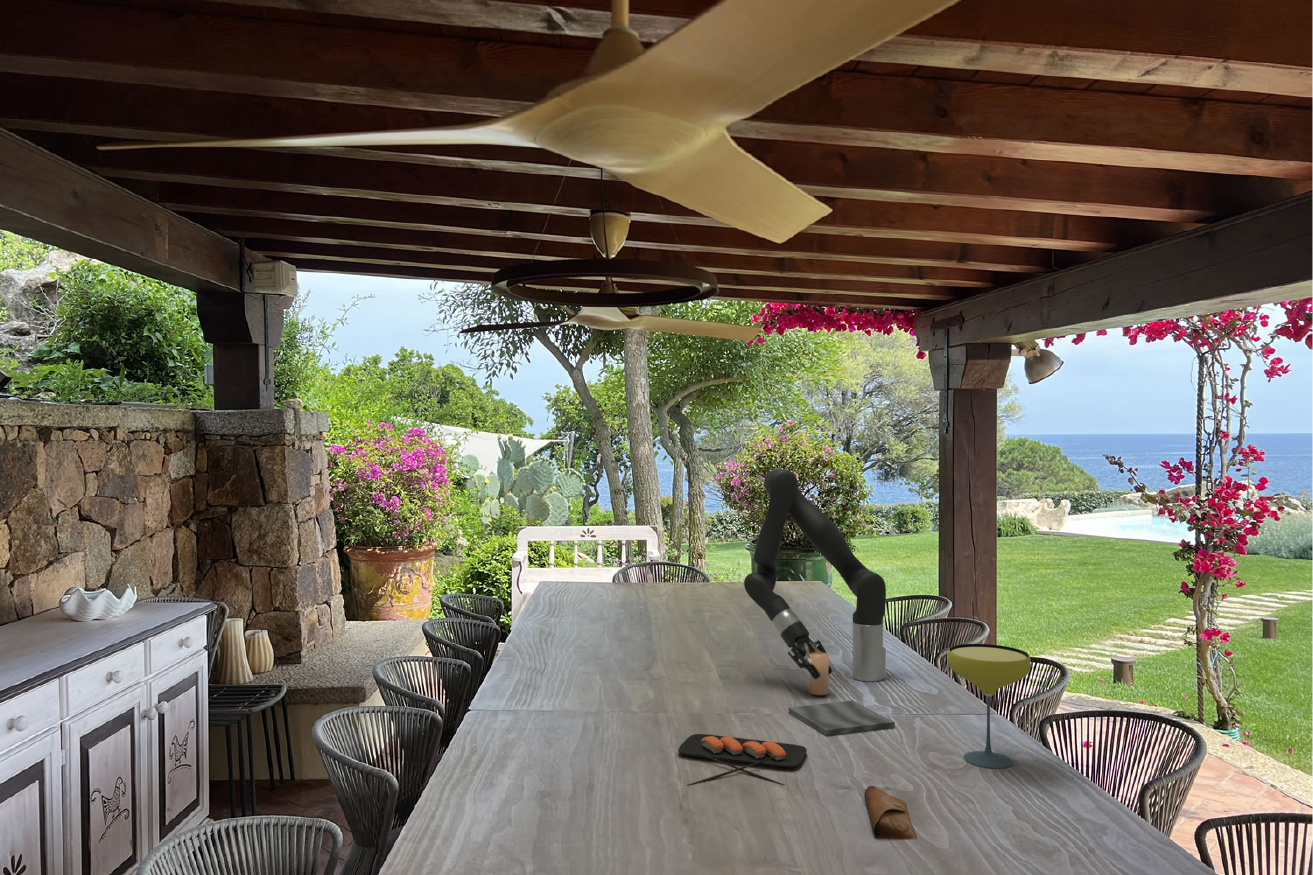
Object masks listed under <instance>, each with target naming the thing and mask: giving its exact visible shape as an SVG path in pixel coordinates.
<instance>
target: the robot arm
mask: <svg viewBox="0 0 1313 875" xmlns="http://www.w3.org/2000/svg"><path fill="white" fill-rule="evenodd" d="M798 482H799V481H798V478H797V476H796V475H795V474H794V473H793V472H792V471H790V470H788V469H783V468H774V469H771V470H769V471H768V472H767V473H766V474H765V476H764V480H763V486H764V489H765V491H766V493H767V494H768V495H769V498H768V499H769V503H768V508H767V511H766V515H765V518H764V521H763V523H762V526H761V528H760V531H759V533H758V537H757V540H756V545H755V549H754V553H753V561H754V562H755V564H757V570H756V572H750V573H748V574H747V575H746V576H745V578H744V581H743V586H744V589H745V592H746V593H747V595H748V596H749V598H751V599H752V601H753V602H754V603H755V604H756V605H757V606H758V607H760V608H761V609H762V610H763V611H764V612H765V614H766V615H767V617H768V618H769V620H770V621H771V622H772V624H773V626H774V628H775V630H776V632H777V633H778V634H779V636H780V638H781V639H782V640H783V641H784V643H785V645H786V646H787V648H790V649H789V651H787V654H788V656H789V657H790V658H791V660H793V662H794V663H795V664H796V665H797V666H798V667H799V668H800V669H803V668H804V669H805V670H807V671H808V672H809V673H810V674H811V675H812V677H813V678H814V679H818V678H819V677H820V673H819V672H818V670H817V669H816V667H815V666H814V665H812V661H811V659H810V653H813V652H823V653H827V651H826V649H825V648H824V646H823V644H822V642H821V641H820V640H819V639H817V641H813V640H812V639H811V638H810V631H809V630H808V629H807V628H806V626H805V624H803V622H802V620H801V619H800V618H799V616H798V615H797V614H796V613H795V612H794V611H793V609H792V608H791V607H790V605H789V604H788V603H787V601H786V600H785V598H784V597H783V596H781V595H780V594H778V593H776V592H775V591H774V589H775V586H776V582H777V559H778V555H779V550H780V545H781V541H782V536H783V532H784V528H785V523H786V521H787V517H788V515H789V516H790V517H791V519H792V520H793V522H795V524H796V526H797V527H798V528H799V530H800V532H802V534H803V535H804V536H805V538H806V539H807V540H808V541H809V543H811V545H812V546H813V547H814V549H816V550H817V551H818V553H819V554H820V555H821V556H822V557H823V559H825V560H826V561H827V562H828V563H829V564H830V565H831V566H832V567H833V568H834V569H835V570H836V571H837V573H838V574H839V575H840V577H841V578H842V580H843V581H844V582H845V584H846V585H847V586H848V588H849V590H850V592H852V594H853V595H854V596H855V597H856V607H855V608H856V609H855V610H854V612H853V613H852V678H853V679H854V680H857V681H860V682H861V681H862V682H863V681H864V682H879V681H882V680H886V678H887V677H886V676H887V675H886V671H887V670H886V669H887V668H886V667H887V666H886V660H887V659H886V658H887V657H886V656H887V655H886V652H887V650H886V647H884V616H885V614H886V603H887V602H886V601H887V588H886V587H887V586H886V582H885V579H884V578H883V577H882V575H880V574H878V573H876V572H874V571H872V570H870V569H868V568H867V567H866V566H865V565H864V563H862V562H861V561H860V560H859V559H858V557H856V555H854V552H852V550H851V548H850V546H849V544H848V542H847V540H846V538H845V537H844V535H843V534H842V532H841V530H840V529H839V528H838V527H837V526H836V524H834V522H833V521H832V520H831V519H830V518H829V517H828V516H827V515H826V514H825V513H824V512H823V511H821V510H820V509H819V508H818V507H816V506H815V504H813V503H812V502H811V501H810V500H808V498H806V496H805V495H804V494H803V493H802V492H801V490H800V489H799V488H798V487H799V483H798ZM809 673H808V674H809ZM832 673H833V669H832V667H831V666H830V665H829V676H830V675H831V674H832Z"/></svg>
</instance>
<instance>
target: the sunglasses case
mask: <svg viewBox="0 0 1313 875" xmlns="http://www.w3.org/2000/svg"><path fill="white" fill-rule="evenodd" d="M864 802H865V806H866V810H867V814H868V816H869V817H868V818H869V821H870V827H871V830H872V833H873V835H874V837H876V838H875V839H887V840H889V839H890V840H891V839H892V840H918V837H917V834H916V831H915V829H914V826H913V823H912V821H911V818H910V814H909V812H908V809H907V802H906V801H904V800H902V799H901V798H897V797H895V796H893V795H890V794H889V793H887V792H885V791H884V790H882V789H880V788H879V787H876V786H874V785H869V786H868V787H866V789H865V791H864Z"/></svg>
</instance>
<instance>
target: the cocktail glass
mask: <svg viewBox="0 0 1313 875" xmlns="http://www.w3.org/2000/svg"><path fill="white" fill-rule="evenodd" d="M946 656H947V663H948V667H949V668H950V669H951V670H952V671H953V672H954V673H955V674H956V675H958V676H959V677H960V678H963V679H964V680H965V681H968V682H970V683H972V684H973V685H975V686H976V687H978V689H980V691H981V693H982V694H983V695H984V696H986V741H985V742H986V743H985V744H986V745H985V750H975V751H969V752H966V753H964V755H963V759H964V760H965V761H966V762H967V763H969V764H970V765H973V766H976V767H980V768H985V769H996V770H997V769H999V770H1000V769H1001V770H1002V769H1007V768H1010V767H1012V766H1013V765H1014V760H1013V759H1012V758H1011V757H1009V756H1007V755H1005V754H1002V753H999V752H994V751H992V747H991V746H992V744H991V715H990V714H991V709H990V708H991V697H992V696H994V695H995V694H996V693H997V691H998V690H999V689H1002V688H1003V687H1006V686H1009V685H1011V684H1014V683H1017V682H1018V681H1021V680H1023V679H1024V678H1025V677H1026V676H1028V675H1029V674H1030V671H1031V666H1032V665H1031V663H1032V662H1031V655H1030V654H1029V653H1028V652H1026V651H1024V650H1022V649H1018V648H1016V647H1011V646H1006V645H1001V644H992V643H990V644H989V643H962V644H955V645H952V646H950V647H949V648H948V650H947V655H946Z"/></svg>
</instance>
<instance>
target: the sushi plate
mask: <svg viewBox="0 0 1313 875" xmlns="http://www.w3.org/2000/svg"><path fill="white" fill-rule="evenodd" d="M677 751H678V753H679V754H681V755H684V756H685V755H686V756H692V757H699V758H707V759H710V760H712V761H715V762H716V763H720V764H722V765H725V766H728V767H731V768H732V769H733V770H729V771H725V772H723V773H722V772H721V773H719V774H716V775H714V776H709V777H707V778H704V779H701V780H697V781H695V782H691V783H689V784H686V786H687V787H688V786H693V785H698V783H699V784H702V783H701V782H703V783H707V782H710V780H711V781H713V780H716V779H719V778H721V777H724V776H727V775H729V774H732V773H735V772H739V771H740V772H742V773H745V774H748V775H750V776H753V777H754V778H757V779H760V780H763V781H767V782H771V783H774V784H777V785H780V786H785V784H784V783H781V782H779V781H777V780H774V779H771V778H768V777H766V776H763V775H761V774H758V773H754V772H751V771H748V770H746V769H747V768H750V767H753V766H756V765H763V766H771V767H778V768H779V767H780V768H796V767H798V766H800V765H801V763H803V760H804V759H805V756H806V755H807V751H808V750H807V747H806V746H803V745H800V744H793V743H785V742H776V741H770V740H768V741H767V740H758V739H750V738H741V737H733V736H725V735H718V734H717V735H715V734H707V733H694V734H691V735H690V736H689V737H687V738H686V739H685V740H684V741H683V742H682V743H681V744H680V746H679V747H678V749H677ZM725 761H730V762H731V761H732V762H739V763H747V765H743V766H741V767H738V766H735V765H732V764H730V763H727V762H725ZM706 781H707V782H706Z"/></svg>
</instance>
